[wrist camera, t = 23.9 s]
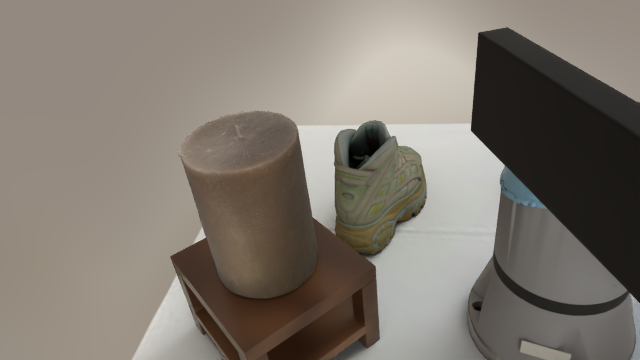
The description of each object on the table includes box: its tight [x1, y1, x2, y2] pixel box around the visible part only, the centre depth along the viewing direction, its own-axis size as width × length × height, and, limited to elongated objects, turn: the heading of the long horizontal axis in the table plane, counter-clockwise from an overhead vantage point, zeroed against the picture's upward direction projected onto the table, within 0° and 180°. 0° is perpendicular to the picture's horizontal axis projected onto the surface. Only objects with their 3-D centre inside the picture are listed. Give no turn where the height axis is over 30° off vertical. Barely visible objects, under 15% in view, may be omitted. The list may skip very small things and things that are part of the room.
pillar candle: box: [178, 111, 318, 299], centre depth 43 cm, size 10×10×15 cm
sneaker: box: [334, 120, 426, 254], centre depth 65 cm, size 11×19×15 cm, turn 136°
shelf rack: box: [171, 217, 380, 360], centre depth 51 cm, size 14×15×11 cm
